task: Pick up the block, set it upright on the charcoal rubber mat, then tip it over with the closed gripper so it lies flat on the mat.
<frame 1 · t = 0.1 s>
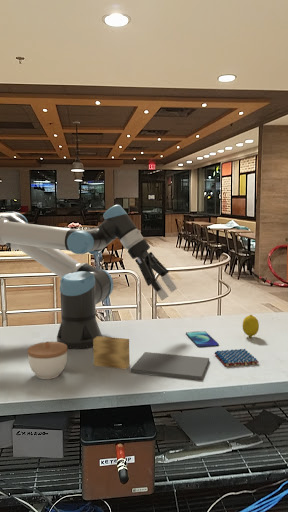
hand: (170, 294, 148), 15 cm above the countertop, tool tilted 35°, fingers open, 13 cm apart
woven mat: (235, 361, 128), on the countertop
lemon: (250, 337, 149), on the countertop
smartphone: (201, 341, 147), on the countertop
mat: (171, 366, 123), on the countertop
lidded jar: (48, 375, 118), on the countertop
block: (111, 365, 124), on the countertop
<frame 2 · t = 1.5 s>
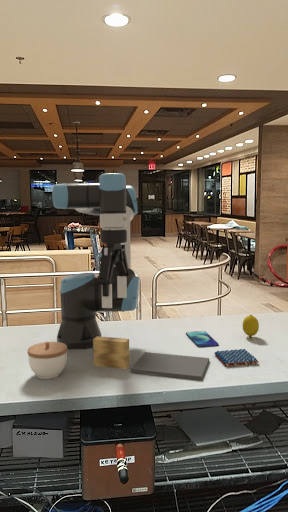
hand: (115, 302, 123), 19 cm above the countertop, tool pointing down, fingers open, 13 cm apart
nothing on the countertop moved.
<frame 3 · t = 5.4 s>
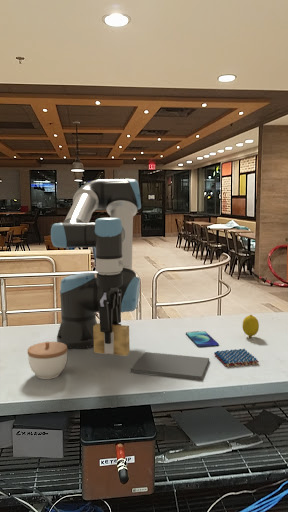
hand: (111, 350, 125), 4 cm above the countertop, tool pointing down, fingers closed on block, 3 cm apart
block: (111, 352, 125), point 4 cm above the countertop, touching gripper
everything else where it was.
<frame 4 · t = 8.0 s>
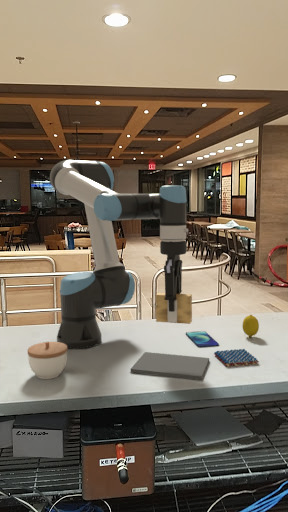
hand: (173, 319, 124), 13 cm above the countertop, tool pointing down, fingers closed on block, 3 cm apart
block: (174, 321, 124), point 13 cm above the countertop, touching gripper
everything else where it was.
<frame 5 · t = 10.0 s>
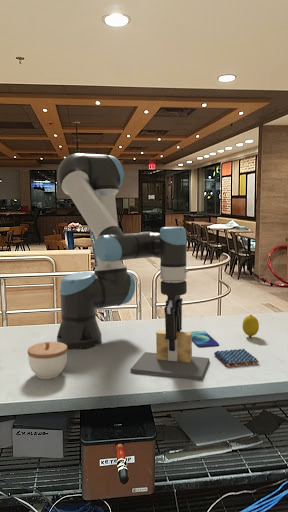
hand: (174, 358, 126), 1 cm above the countertop, tool pointing down, fingers closed on mat, block, 3 cm apart
block: (174, 359, 126), point 1 cm above the countertop, touching gripper, mat
everything else where it was.
when the fingers open (1 cm above the countertop, at t = 10.6 s): block stays where it is, resting on mat.
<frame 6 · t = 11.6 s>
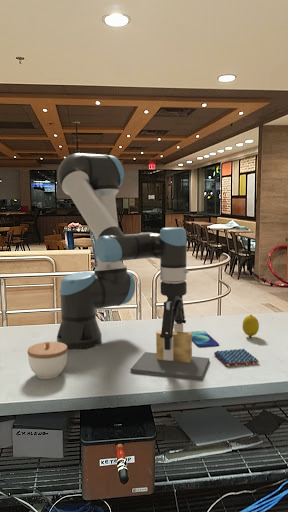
hand: (173, 351, 126), 3 cm above the countertop, tool pointing down, fingers open, 13 cm apart
block: (174, 359, 126), point 1 cm above the countertop, touching mat
everything else where it was.
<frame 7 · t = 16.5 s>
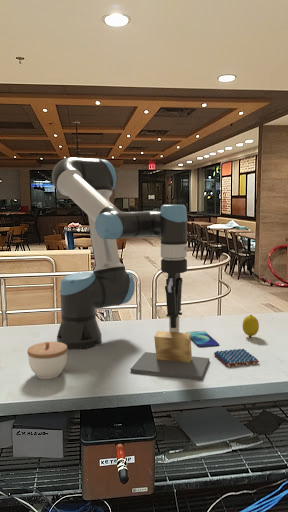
hand: (174, 337, 126), 7 cm above the countertop, tool pointing down, fingers closed
block: (174, 357, 126), point 1 cm above the countertop, tilted 16°, touching mat
everything else where it was.
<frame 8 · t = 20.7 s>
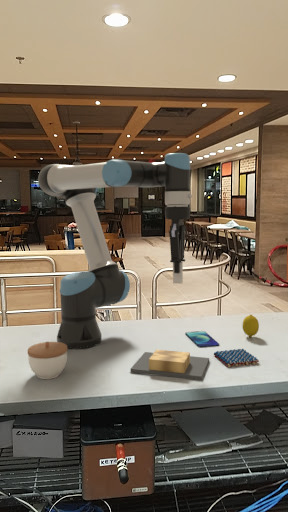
hand: (177, 282, 131), 22 cm above the countertop, tool pointing down, fingers closed
block: (172, 356, 124), point 2 cm above the countertop, tilted 90°, touching mat
everything else where it was.
at the end: block tilted 90°; block inside the target area on the mat (1.9 cm from its centre), point 2.5 cm above the mat's base; the gripper is holding nothing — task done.
